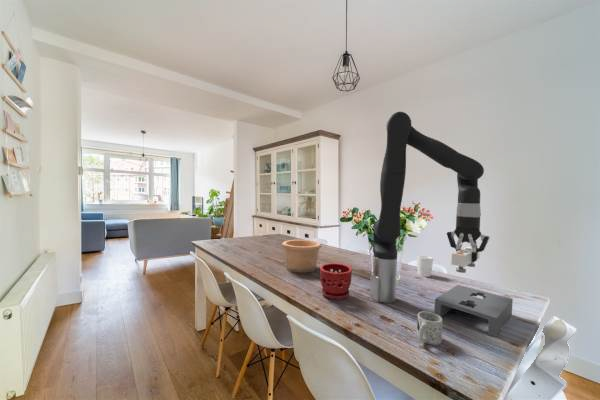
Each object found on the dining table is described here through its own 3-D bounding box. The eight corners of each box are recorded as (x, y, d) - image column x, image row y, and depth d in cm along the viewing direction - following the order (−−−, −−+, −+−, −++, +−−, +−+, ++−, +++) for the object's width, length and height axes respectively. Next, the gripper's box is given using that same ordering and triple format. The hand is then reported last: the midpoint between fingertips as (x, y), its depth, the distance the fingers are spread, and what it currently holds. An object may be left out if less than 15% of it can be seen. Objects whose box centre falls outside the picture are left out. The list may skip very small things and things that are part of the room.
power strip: (463, 275, 89) (464, 254, 89) (451, 272, 92) (451, 251, 92) (478, 265, 102) (479, 247, 102) (467, 263, 105) (468, 245, 105)
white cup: (413, 272, 144) (414, 255, 143) (426, 272, 144) (427, 255, 144) (421, 277, 136) (422, 258, 135) (435, 277, 136) (436, 258, 136)
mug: (422, 330, 82) (422, 309, 82) (444, 339, 77) (445, 317, 77) (408, 341, 75) (409, 319, 75) (432, 352, 70) (433, 328, 70)
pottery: (321, 275, 134) (322, 247, 134) (279, 273, 135) (280, 246, 134) (319, 263, 156) (320, 240, 156) (283, 262, 156) (283, 239, 156)
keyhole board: (495, 337, 79) (496, 318, 79) (434, 315, 92) (434, 298, 92) (511, 314, 95) (512, 298, 95) (457, 298, 108) (457, 284, 108)
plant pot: (315, 290, 113) (316, 263, 112) (343, 289, 115) (344, 262, 115) (324, 303, 100) (325, 272, 100) (356, 301, 103) (357, 271, 102)
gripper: (443, 214, 99) (442, 258, 100) (488, 217, 89) (486, 266, 89) (450, 213, 104) (448, 255, 105) (493, 216, 94) (491, 263, 94)
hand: (466, 260), depth 97 cm, fingers closed on power strip, 4 cm apart
